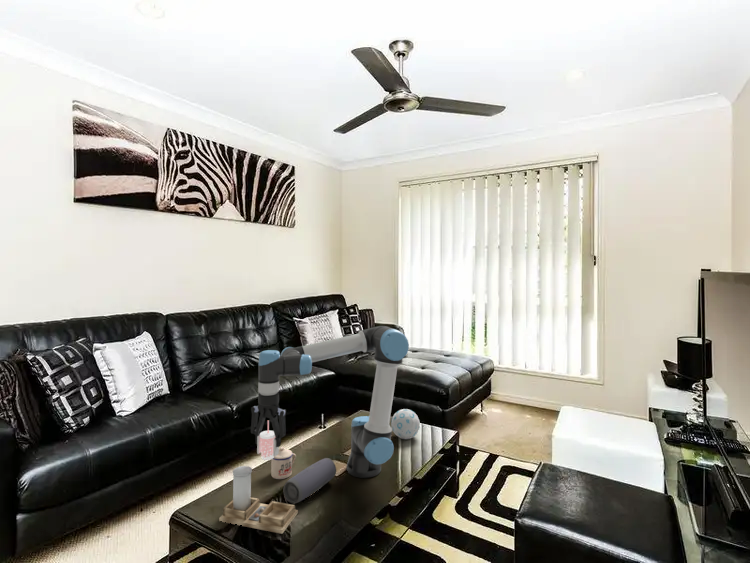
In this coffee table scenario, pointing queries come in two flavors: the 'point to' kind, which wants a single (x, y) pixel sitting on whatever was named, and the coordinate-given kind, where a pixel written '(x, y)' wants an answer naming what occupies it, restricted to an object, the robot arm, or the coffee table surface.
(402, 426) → the puzzle ball
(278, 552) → the coffee table surface
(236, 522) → the rack
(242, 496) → the grey tube
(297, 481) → the bluetooth speaker
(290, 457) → the teacup with lid
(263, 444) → the beverage cup
